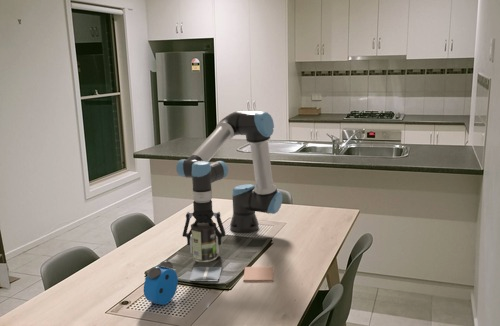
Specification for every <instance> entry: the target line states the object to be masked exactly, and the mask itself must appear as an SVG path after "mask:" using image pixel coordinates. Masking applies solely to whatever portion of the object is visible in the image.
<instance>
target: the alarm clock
mask: <svg viewBox="0 0 500 326" xmlns="http://www.w3.org/2000/svg"><path fill="white" fill-rule="evenodd" d="M173 267H174V266H173V263H172V262H171V261H169V260H163V261H161V262H160V263H159V265H156V266H153V267H151V268H149V270H148V271H147V275H146V277H145V280H144V283H143V295H144V298H145V300H146V301H148V302H151V305H154V304H158V305H161V306H162V305H164V306H165V305H168V304H169V303H170V302H171V301H172V299H173V298H174V296H175V295H176V292H177V289H178V285H179V284H178V282H179V279H178V275H177V272H176V271H175V270H174V269H173Z"/></svg>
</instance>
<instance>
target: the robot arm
mask: <svg viewBox="0 0 500 326" xmlns="http://www.w3.org/2000/svg"><path fill="white" fill-rule="evenodd" d="M274 128H275V124H274V120H273V117H272V115H271V114H269V112H268V111H261V110H253V111H252V110H251V111H250V110H236V111H234V112H232V113H229V114H228V115H226V116H225V117H223V118H222V119H221V120H220V121H219V122H218V123H217V124H216V126H215V129H214V130H213V132H212V133H210V135H209V136H208V137H207V138H206V139H205V140H204V141H203V142H202V143H201V144H200V145H199V147H198V148H196V149H195V150H194V152H192V154H191V155H190V156H189V157H188V158H187V159H186V158H184V159H183V158H182V159H179V160H178V162H177V163H176V169H175V170H176V174H177V175H178V176H179V177H183V178H191V179H192V180H191V181H192V200H193V204H192V205H193V211H192V212H189V211H188V212H186V215H185V218H186V219H185V224H184V227H183V232H182V237H184V238H186V241H187V246H189V247H190V248H189V250H190V251H189V252H190V254H193V252H192V232H191V229H190V230H189V231H188V229H189V224H190V221H191V219H192V217H193V218H194V219H195V221H194V222H193V223H194V224H193V223H192V224H193V226H196V225H197V224H198V222H199V223H207V222H208V224H209V225H210V226H214V223H215V222H214V220H213V217H214V218H215V219H216V223H217V224H218V227H217V226H216V228H215V234H216V235H217V237H216V253H219V245H221V237H222V238H223V237H225V236H226V230H225V227H224V224H223V222H222V218H221V212H220V211H218V212H214V211H213V200H212V199H213V192H212V183H215V182H217V181H219V180H220V181H221V180H222V179H224V178H226V177H227V175H228V174H229V167H228V164H227V163H226V162H225V161H222V160H217V161H211V162H210V160H211V159H212V158H213V157H214V156H215V155H216V154H217V152H219V150H221V148H222V147H223V146H224V145H225V144H226V143H227V141H228V140H231V139H233V138H234V136H245V139H246V142H247V143H249V144H250V151H251V157H252V158H251V159H252V165H253V174H254V179H255V184H250V183H248V184H240V185H236V186H235V187H233V188H232V195H231V196H232V217H231V221H230V224H229V225H230V227H229V228H230V230H231V231H232V232H235V233H251V232H255V231H257V230H258V229H259V227H260V226H259V224H260V223H259V221H258V218H257V215H256V212H258V213H264V214H270V215H271V214H272V215H273V214H274V215H275V214H277V213H278V212H279V211H280V209H281V206H282V205H283V204H282V203H283V193H282V192H281V191H279V190H278V187H277V185H276V184H274V179H273V178H274V177H273V171H272V163H271V156H270V149H269V140H270V139H271V137H272V135H273V133H274ZM218 228H219V229H218ZM220 232H221V233H220Z"/></svg>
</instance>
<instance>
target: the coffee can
mask: <svg viewBox="0 0 500 326" xmlns="http://www.w3.org/2000/svg"><path fill="white" fill-rule="evenodd" d="M193 224H194V222H193V223H191V224H190V230H191V232H192V234H191V236H192V252H193V253H192V260H193V261H194V262H198V263H210V262H214V261H215V260H216V259H217V258H218V257H217V253H216V234H215V228H216V227H217V222H214V226H210V225H209V224H208V222H207V223H199V222H198V224H197V225H196V226H193Z"/></svg>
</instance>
